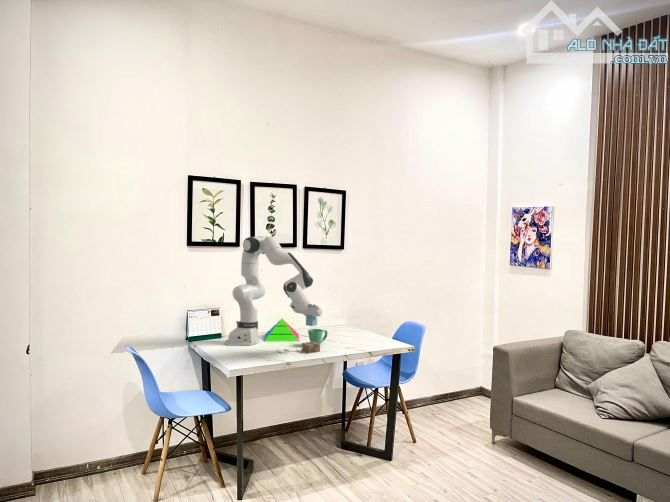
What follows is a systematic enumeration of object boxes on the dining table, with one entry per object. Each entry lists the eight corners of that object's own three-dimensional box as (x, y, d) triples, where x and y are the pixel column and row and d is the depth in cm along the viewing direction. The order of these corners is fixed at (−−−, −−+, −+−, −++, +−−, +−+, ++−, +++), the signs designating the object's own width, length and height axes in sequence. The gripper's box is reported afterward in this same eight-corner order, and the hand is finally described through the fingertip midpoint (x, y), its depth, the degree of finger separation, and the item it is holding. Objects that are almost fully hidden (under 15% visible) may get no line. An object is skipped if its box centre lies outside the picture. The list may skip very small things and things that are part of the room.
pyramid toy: (264, 334, 343) (264, 315, 343) (299, 334, 346) (299, 315, 345) (262, 342, 319) (263, 321, 318) (300, 342, 321) (300, 321, 321)
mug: (314, 348, 304) (314, 332, 304) (304, 345, 311) (305, 329, 311) (331, 344, 314) (331, 329, 313) (321, 342, 321) (322, 327, 321)
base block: (309, 353, 290) (309, 345, 290) (302, 350, 297) (302, 343, 297) (319, 352, 295) (320, 344, 295) (313, 349, 301) (313, 341, 301)
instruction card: (280, 352, 291) (280, 352, 291) (276, 350, 297) (276, 349, 297) (295, 351, 295) (295, 350, 295) (291, 348, 301) (291, 348, 301)
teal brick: (312, 326, 292) (312, 311, 291) (305, 325, 295) (306, 310, 294) (317, 325, 296) (317, 310, 296) (310, 324, 299) (311, 309, 298)
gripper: (318, 301, 283) (328, 315, 291) (292, 297, 295) (302, 311, 303) (314, 309, 279) (323, 323, 288) (287, 305, 291) (297, 319, 300)
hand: (312, 317), depth 296 cm, fingers closed on teal brick, 5 cm apart
